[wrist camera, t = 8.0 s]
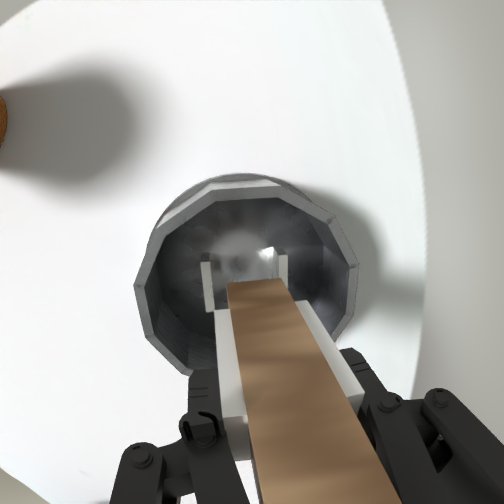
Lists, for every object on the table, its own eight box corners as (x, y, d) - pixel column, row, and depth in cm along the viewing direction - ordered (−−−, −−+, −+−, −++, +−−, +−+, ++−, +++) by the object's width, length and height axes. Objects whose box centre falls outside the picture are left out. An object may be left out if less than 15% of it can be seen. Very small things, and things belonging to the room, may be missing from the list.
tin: (163, 353, 24) (157, 397, 19) (134, 182, 19) (111, 192, 14) (325, 335, 25) (349, 372, 20) (333, 170, 21) (369, 177, 16)
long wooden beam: (230, 329, 17) (276, 581, 4) (226, 283, 16) (279, 571, 3) (281, 323, 18) (377, 554, 4) (281, 277, 17) (414, 528, 3)
